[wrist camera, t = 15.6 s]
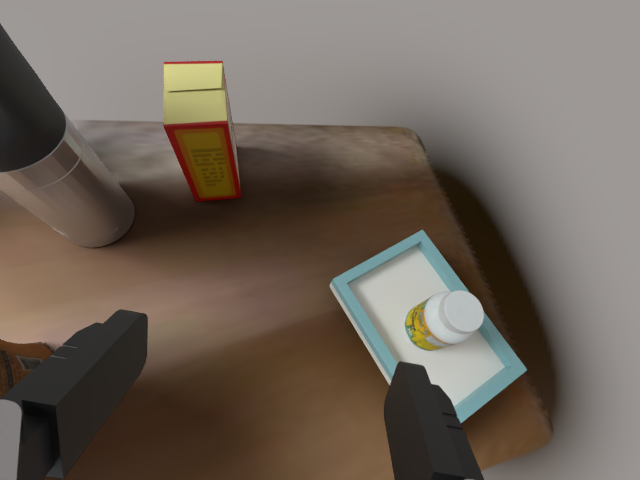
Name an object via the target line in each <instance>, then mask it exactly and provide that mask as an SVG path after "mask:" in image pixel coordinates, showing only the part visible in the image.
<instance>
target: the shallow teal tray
mask: <svg viewBox="0 0 640 480" xmlns="http://www.w3.org/2000/svg"><path fill="white" fill-rule="evenodd" d="M329 287H330V288H331V290H332V292H333V293H334V295H335V297H336V298H337V300H338V302H339V303H340V305H341V306H342V308H343V310H344V311H345V313H346V315H347V316H348V318H349V320H350V321H351V323H352V325H353V326H354V328H355V329H356V331H357V333H358V334H359V336H360V338H361V339H362V341H363V343H364V344H365V346H366V348H367V349H368V351H369V352H370V354H371V356H372V357H373V359H374V361H375V362H376V364H377V366H378V367H379V369H380V371H381V372H382V374H383V375H384V377H385V379H386V380H387V382H388V384H389V385H390V383H391V381H392V378H393V375H394V372H395V369H396V366H397V364H398V362H400V361H402V362H408V363H413V364H419V365H423V366H424V367H425V369H426V371H427V374H428V377H429V379H430V382H431V384H434V385H439V386H440V387H441V388H442V390H443V391H444V392H445V393H446V394H447V396H448V397H449V398H450V399H451V401H452V404H453V406H454V408H455V411H456V413H457V418H459V420H460V423H462V422H463V421H465V420H466V419H467V418H468V417H469V416H471V415H472V414H473V413H474V412H476V411H477V410H478V409H479V408H481V407H482V406H483V405H484V404H486V403H487V402H488V401H489V400H491V399H492V398H493V397H494V396H496V395H497V394H498V393H499V392H501V391H502V390H503V389H504V388H506V387H507V386H508V385H509V384H511V383H512V382H513V381H514V380H515V379H517V378H518V377H519V376H520V375H522V374H523V373H524V372H525V371H527V369H526V367H525V366H524V365H523V363H522V362H521V361H520V359H519V358H518V357H517V355H516V354H515V353H514V351H513V350H512V349H511V347H510V346H509V345H508V343H507V342H506V341H505V339H504V338H503V337H502V335H501V334H500V333H499V331H498V330H497V329H496V327H495V326H494V325H493V323H492V322H491V321H490V319H489V318H488V317H487V315H486V314H485V313H484V319H483V323H482V325H481V326H480V327H479V328H478V329H477V330H475V331H474V332H473V334H472V336H471V337H470V338H469V339H468V340H466V341H464V342H462V343H459V344H456V345H452V346H448V347H445V348H441V349H438V350H433V351H425V350H421V349H419V348H417V347H416V346H414V345H413V344H412V343H411V342H410V340H409V339H408V337H407V335H406V332H405V328H404V321H405V317H406V315H407V313H408V312H409V311H410V310H411V309H412V308H414V307H415V306H417V305H418V304H420V303H422V302H423V301H425V300H426V299H428V298H430V297H431V296H433V295H434V294H436V293H439V292H444V291H449V292H454V291H458V290H461V291H466V292H469V291H468V290H467V288H466V287H465V286H464V284H463V283H462V282H461V280H460V279H459V278H458V276H457V275H456V274H455V272H454V271H453V270H452V268H451V267H450V266H449V264H448V263H447V262H446V260H445V259H444V258H443V256H442V255H441V254H440V252H439V251H438V249H437V248H436V247H435V245H434V244H433V243H432V241H431V240H430V239H429V237H428V236H427V235H426V233H425V232H424V231H423V230H421V231H419V232H417V233H416V234H414V235H412V236H410V237H408V238H406V239H405V240H403V241H401V242H399V243H397V244H396V245H394V246H392V247H390V248H388V249H387V250H385V251H383V252H381V253H379V254H377V255H376V256H374V257H372V258H370V259H368V260H367V261H365V262H363V263H361V264H359V265H357V266H356V267H354V268H352V269H350V270H348V271H347V272H345V273H343V274H341V275H339V276H337V277H336V278H334V279H333V280H332V282H331V284H330V286H329ZM469 293H470V292H469Z"/></svg>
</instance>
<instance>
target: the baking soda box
mask: <svg viewBox="0 0 640 480" xmlns="http://www.w3.org/2000/svg"><path fill="white" fill-rule="evenodd" d="M164 129H165V131H166V133H167V136H168V138H169V140H170V142H171V145H172V147H173V149H174V152H175V154H176V156H177V159H178V161H179V163H180V166H181V168H182V170H183V173H184V175H185V177H186V180H187V182H188V184H189V187H190V189H191V191H192V194H193V196H194V198H195V201H196V202H198V201H209V200H221V199H232V198H241V188H240V178H239V167H238V156H237V146H236V140H235V134H234V128H233V122H232V116H231V110H230V105H229V98H228V93H227V86H226V80H225V75H224V68H223V62H222V61H194V62H193V61H191V62H164Z"/></svg>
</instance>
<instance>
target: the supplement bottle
mask: <svg viewBox="0 0 640 480" xmlns="http://www.w3.org/2000/svg"><path fill="white" fill-rule="evenodd" d="M483 319H484V311H483V308H482V305H481V303H480V302H479V300H478V299H477V298H476V297H475V296H474V295H472V294H471V293H469V292H466V291H461V290H458V291H454V292H449V291H444V292H439V293H436V294H434V295H433V296H431V297H430V298H428V299H426V300H425V301H423V302H422V303H420V304H418V305H417V306H415V307H414V308H412V309H411V310H410V311H409V312H408V313H407V315H406V317H405V321H404V328H405V332H406V335H407V337H408V339H409V340H410V342H411V343H412V344H413V345H414V346H416V347H417V348H419V349H421V350H425V351H433V350H438V349H441V348H445V347H448V346H452V345H456V344H459V343H462V342H464V341H466V340H468V339H469V338H470V337H471V336H472V334H473V332H474V331H475V330H477V329H478V328H479V327H480V326H481V325H482V323H483Z"/></svg>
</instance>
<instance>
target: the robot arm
mask: <svg viewBox="0 0 640 480" xmlns="http://www.w3.org/2000/svg"><path fill="white" fill-rule="evenodd" d="M0 190H1V191H3V192H4V193H5V194H7V195H8V196H9V197H11V198H12V199H14V200H15V201H16V202H18V203H19V204H20V205H22V206H23V207H25V208H26V209H27V210H29V211H30V212H31V213H33V214H34V215H36V216H37V217H38V218H40V219H41V220H43V221H44V222H45V223H47V224H48V225H49V226H51V227H52V228H53V229H55V230H56V231H58V232H59V233H60V234H62V235H63V236H64V237H66V238H67V239H69V240H70V241H71V242H73V243H75V244H77V245H79V246H83V247H93V248H95V247H101V246H105V245H108V244H111V243H113V242H115V241H116V240H118V239H119V238H121V237H122V236H123V235H124V234H125V233H126V232H127V231H128V230H129V228H130V227H131V225H132V223H133V220H134V215H135V210H134V205H133V203H132V201H131V199H130V198H129V197H128V196H127V194H126V193H125V192H124V190H123V189H122V188H121V186H120V185H119V183H118V182H117V181H116V180H115V178H114V177H113V176H112V174H111V173H110V172H109V170H108V169H107V168H106V166H105V165H104V164H103V163H102V161H101V160H100V159H99V157H98V156H97V155H96V153H95V152H94V151H93V150H92V148H91V147H90V146H89V144H88V143H87V142H86V140H85V139H84V138H83V136H82V135H81V134H80V133H79V131H78V130H77V129H76V128H75V126H74V125H73V124H72V122H71V121H70V120H69V118H68V117H67V116H66V115H65V113H64V112H63V111H62V109H61V108H60V107H59V105H58V104H57V103H56V101H55V100H54V99H53V97H52V96H51V95H50V93H49V92H48V90H47V89H46V87H45V86H44V85H43V83H42V82H41V80H40V79H39V77H38V76H37V74H36V73H35V71H34V70H33V69H32V67H31V66H30V65H29V63H28V62H27V61H26V59H25V58H24V56H23V55H22V54H21V53H20V51H19V50H18V49H17V47H16V46H15V44H14V43H13V41H12V40H11V39H10V37H9V36H8V34H7V33H6V32H5V30H4V28H3V27H2V25H1V24H0ZM147 331H148V318H147V315H146V314H144V313H138V312H133V311H127V310H122V309H120V310H118V311H116V312H115V313H114V314H113V315H112V316H111V317H110V318H109V319H108V320H107V321H106V322H104V323H103V324H102V323H94V324H92V325H90V326H88V327H86V328H84V329H82V330H80V331H78V332H76V333H75V334H74V335H73V336H72V337H71V338H70V339H68V340H67V341H66V342H65V343H64V344H63V346H62V347H59V348H58V349H57V350H56V351H55V352H53V353H52V354H51V357H48V358H46V359H45V360H44V361H43V362H42V363H41V364H39V365H38V366H37V367H36V368H35V369H34V370H33V371H31V372H30V373H29V374H28V375H27V376H26V377H24V378H23V379H22V380H21V381H20V382H19V383H18V384H16V385H15V386H14V387H13V388H12V389H11V390H9V391H8V392H7V393H6V394H5V395H4V396H2V397H1V398H0V480H43V478H44V477H45V476H47V477H53V478H59V479H64V477H65V476H66V475H67V473H68V472H69V471H70V469H71V468H72V466H73V465H74V464H75V462H76V461H77V460H78V458H79V457H80V455H81V454H82V453H83V451H84V450H85V449H86V447H87V446H88V445H89V443H90V442H91V440H92V439H93V438H94V436H95V435H96V434H97V432H98V431H99V429H100V428H101V427H102V425H103V424H104V423H105V421H106V420H107V419H108V417H109V416H110V414H111V413H112V412H113V410H114V409H115V408H116V406H117V405H118V403H119V402H120V401H121V399H122V398H123V397H124V395H125V394H126V393H127V391H128V390H129V388H130V387H131V386H132V384H133V383H134V382H135V380H136V379H137V377H138V376H139V375H140V373H141V371H142V369H143V367H144V364H145V361H146V357H147ZM384 420H385V425H386V431H387V437H388V443H389V449H390V454H391V460H392V466H393V472H394V478H395V480H484V478H483V476H482V474H481V471H480V469H479V466H478V464H477V461H476V459H475V456H474V454H473V452H472V449H471V447H470V444H469V442H468V440H467V437H466V435H465V432H464V431H463V430H462V429H463V428H462V425H461V423H460V420H459V418H457V413H456V411H455V408H454V406H453V404H452V401H451V399H450V398H449V397H448V396H447V394H446V393H445V392H444V391H443V390H442V388H441V387H440V386H439V385H434V384H431V382H430V379H429V377H428V374H427V371H426V369H425V367H424V366H423V365H419V364H413V363H408V362H402V361H400V362H398V364H397V366H396V369H395V372H394V375H393V378H392V381H391V383H390V386H389V389H388V392H387V395H386V398H385V404H384Z"/></svg>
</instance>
